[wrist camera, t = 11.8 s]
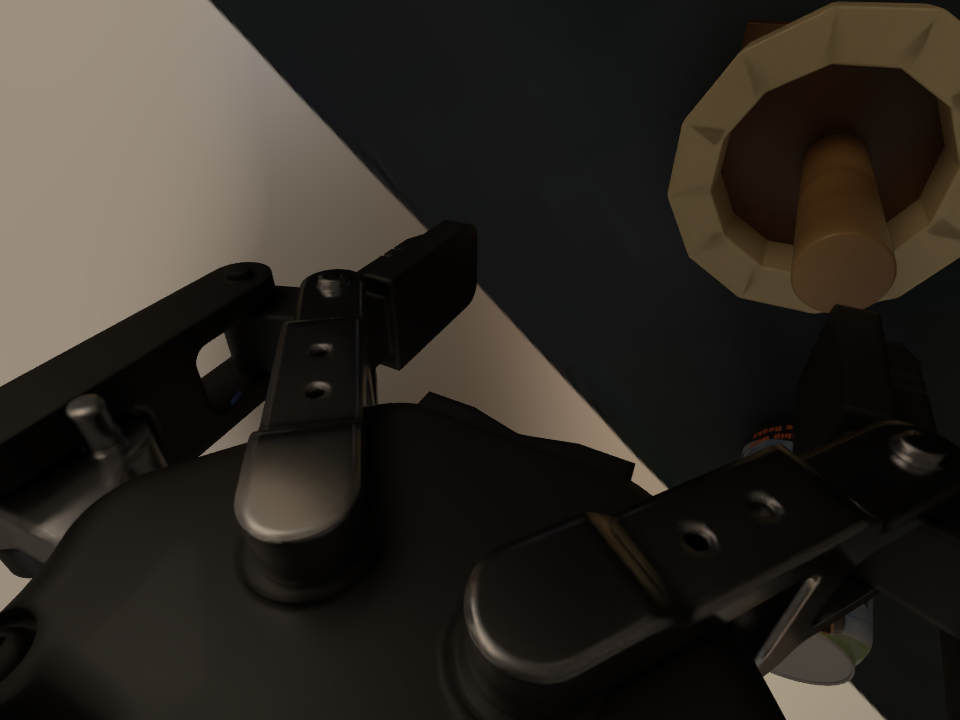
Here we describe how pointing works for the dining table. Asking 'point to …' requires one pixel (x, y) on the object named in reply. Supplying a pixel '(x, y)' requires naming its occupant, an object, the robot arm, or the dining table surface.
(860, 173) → the peg stand
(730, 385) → the dining table surface
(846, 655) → the beverage can
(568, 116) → the dining table surface
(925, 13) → the tape roll
